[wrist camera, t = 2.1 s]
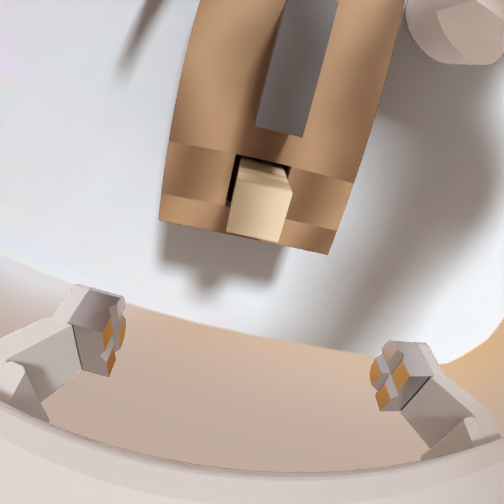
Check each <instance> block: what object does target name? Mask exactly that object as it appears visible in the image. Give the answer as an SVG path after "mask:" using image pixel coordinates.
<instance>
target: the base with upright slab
mask: <svg viewBox="0 0 504 504" xmlns="http://www.w3.org/2000/svg"><path fill="white" fill-rule="evenodd" d="M406 21H407V25H408V29H409V31H410V33H411V35H412V37H413V39H414V40H415V42H416V43H417V45H418V46H419V47H420V48H421V49H422V50H423V51H424V52H425V53H426V54H427V55H428V56H430V57H431V58H433V59H434V60H436V61H439V62H441V63H444V64H472V65H489V64H493V63H495V62H496V61H498V60H499V59H500V58H501V56H502V54H503V53H504V0H408V2H407V5H406Z"/></svg>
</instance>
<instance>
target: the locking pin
mask: <svg viewBox="0 0 504 504" xmlns="http://www.w3.org/2000/svg"><path fill="white" fill-rule="evenodd" d="M292 194H293V193H292V191H291V188H290V185H289V182H288V180H287V177H286V174H285V171H284V169H283V166H282V164H278V163H274V162H270V161H266V160H261V159H257V158H252V157H248V156H243V155H241V157H240V162H239V166H238V171H237V175H236V180H235V185H234V190H233V195H232V201H231V206H230V212H229V217H228V223H227V229H226V232H230V233H235V234H240V235H245V236H249V237H254V238H259V239H264V240H269V241H273V242H278V241H279V238H280V234H281V231H282V228H283V224H284V221H285V218H286V214H287V211H288V208H289V204H290V201H291V198H292Z"/></svg>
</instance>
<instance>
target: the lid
mask: <svg viewBox="0 0 504 504" xmlns="http://www.w3.org/2000/svg"><path fill="white" fill-rule="evenodd" d="M403 4H404V0H200V3H199V7H198V10H197V14H196V17H195V21H194V25H193V29H192V32H191V36H190V40H189V44H188V48H187V53H186V57H185V61H184V65H183V70H182V74H181V79H180V84H179V89H178V94H177V99H176V104H175V109H174V114H173V120H172V126H171V131H170V137H169V143H168V150H167V156H166V163H165V170H164V177H163V185H162V193H161V201H160V210H159V219H158V220H161V221H166V222H171V223H176V224H181V225H186V226H191V227H196V228H201V229H206V230H211V231H216V232H221V233H226V234H231V235H235V236H240V237H245V238H250V239H255V240H260V241H265V242H269V243H274V244H279V245H284V246H288V247H293V248H298V249H303V250H307V251H312V252H317V253H321V254H326V255H328V253H329V250H330V247H331V245H332V242H333V240H334V237H335V234H336V232H337V229H338V226H339V223H340V221H341V218H342V215H343V212H344V210H345V207H346V204H347V201H348V198H349V196H350V193H351V190H352V187H353V184H354V181H355V178H356V175H357V172H358V169H359V166H360V163H361V160H362V157H363V154H364V151H365V148H366V144H367V141H368V138H369V135H370V132H371V128H372V125H373V122H374V118H375V115H376V112H377V108H378V105H379V101H380V98H381V94H382V90H383V87H384V83H385V79H386V76H387V72H388V68H389V64H390V60H391V56H392V52H393V48H394V44H395V40H396V36H397V31H398V27H399V22H400V18H401V13H402V9H403ZM236 154H239V155H243V156H248V157H252V158H257V159H261V160H266V161H270V162H274V163H278V164H283V165H287V166H289V167H288V170H287V174H286V177H287V180H288V182H289V185H290V188H291V191H292V193H293V194H292V198H291V201H290V204H289V208H288V211H287V214H286V218H285V221H284V224H283V228H282V231H281V234H280V238H279V241H278V242H273V241H269V240H264V239H259V238H254V237H249V236H245V235H240V234H235V233H230V232H226V229H227V223H228V217H229V212H230V206H231V201H228V200H226V197H227V193H228V188H229V183H230V179H231V174H232V170H233V165H234V161H235V156H236Z"/></svg>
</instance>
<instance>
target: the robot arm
mask: <svg viewBox="0 0 504 504" xmlns="http://www.w3.org/2000/svg"><path fill="white" fill-rule="evenodd" d="M124 308H125V298H124V297H123V296H121V295H117V294H113V293H109V292H106V291H102V290H99V289H95V288H90V287H87V286H84V285H80V284H76V285H74V286H73V287H72V289H71V290H70V292H69V293H68V294H67V296H66V297H65V299H64V300H63V301H62V303H61V304H60V306H59V307H58V308H57V310H56V311H55V313H54V314H53V316H52V317H51V318H49V317H45V318H43V319H41V320H39V321H36V322H34V323H32V324H30V325H28V326H26V327H24V328H21V329H19V330H17V331H15V332H13V333H11V334H9V335H6V336H4V337H2V338H0V504H504V438H501V436H500V433H499V431H498V429H497V427H496V425H495V422H494V420H493V418H492V416H491V414H490V412H489V411H488V410H487V409H485V408H484V407H483V406H482V405H480V403H478V402H477V401H476V400H475V399H474V398H472V397H471V396H470V395H469V394H468V393H467V392H465V391H464V390H463V389H462V388H460V386H458V385H457V384H456V383H454V382H453V381H452V380H451V379H450V378H449V377H445V376H444V374H443V372H442V370H441V368H440V366H439V364H438V362H437V360H436V358H435V357H434V355H433V353H432V351H431V349H430V347H429V345H427V344H426V343H420V342H401V341H389V342H387V343H386V344H385V345H384V347H383V348H382V352H383V354H382V355H380V356H379V357H377V358H376V359H375V361H374V363H373V364H372V365H371V370H370V380H371V384H372V386H373V387H375V388H376V389H377V393H376V395H375V396H376V399H377V403H378V406H379V409H380V411H401V412H400V413H401V414H402V415H403V416H404V418H405V419H406V420H407V421H408V422H409V424H410V425H411V426H412V427H413V428H414V430H415V431H416V432H417V433H418V434H419V436H420V437H421V438H422V439H423V440H424V442H425V443H426V444H427V445H428V447H429V448H430V449H429V450H428V451H427V452H426V453H424V454H423V455H422V457H421V461H416V462H410V463H405V464H398V465H392V466H385V467H377V468H368V469H358V470H346V471H329V472H268V471H251V470H238V469H229V468H220V467H212V466H204V465H198V464H192V463H185V462H180V461H174V460H169V459H164V458H159V457H155V456H151V455H146V454H142V453H138V452H134V451H130V450H126V449H123V448H119V447H116V446H112V445H109V444H105V443H102V442H99V441H96V440H93V439H90V438H87V437H83V436H81V435H78V434H75V433H73V432H70V431H67V430H64V429H62V428H59V427H57V426H54V425H52V424H50V423H49V418H48V416H47V414H46V412H45V411H44V408H43V407H42V405H41V403H40V402H42V401H43V400H44V399H46V398H47V397H48V396H50V395H51V394H52V393H54V392H55V391H56V390H58V389H59V388H60V387H61V386H63V385H64V384H66V383H67V382H68V381H70V380H71V379H72V378H74V377H75V376H77V375H78V374H79V373H80V372H82V370H85V371H88V372H92V373H95V374H99V375H103V376H107V377H109V375H110V373H111V370H112V368H113V365H114V363H115V360H116V359H115V352H116V351H117V350H119V349H120V348H121V345H122V343H123V339H124V335H125V327H126V319H125V318H124V316H123V315H122V313H123V311H124Z"/></svg>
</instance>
